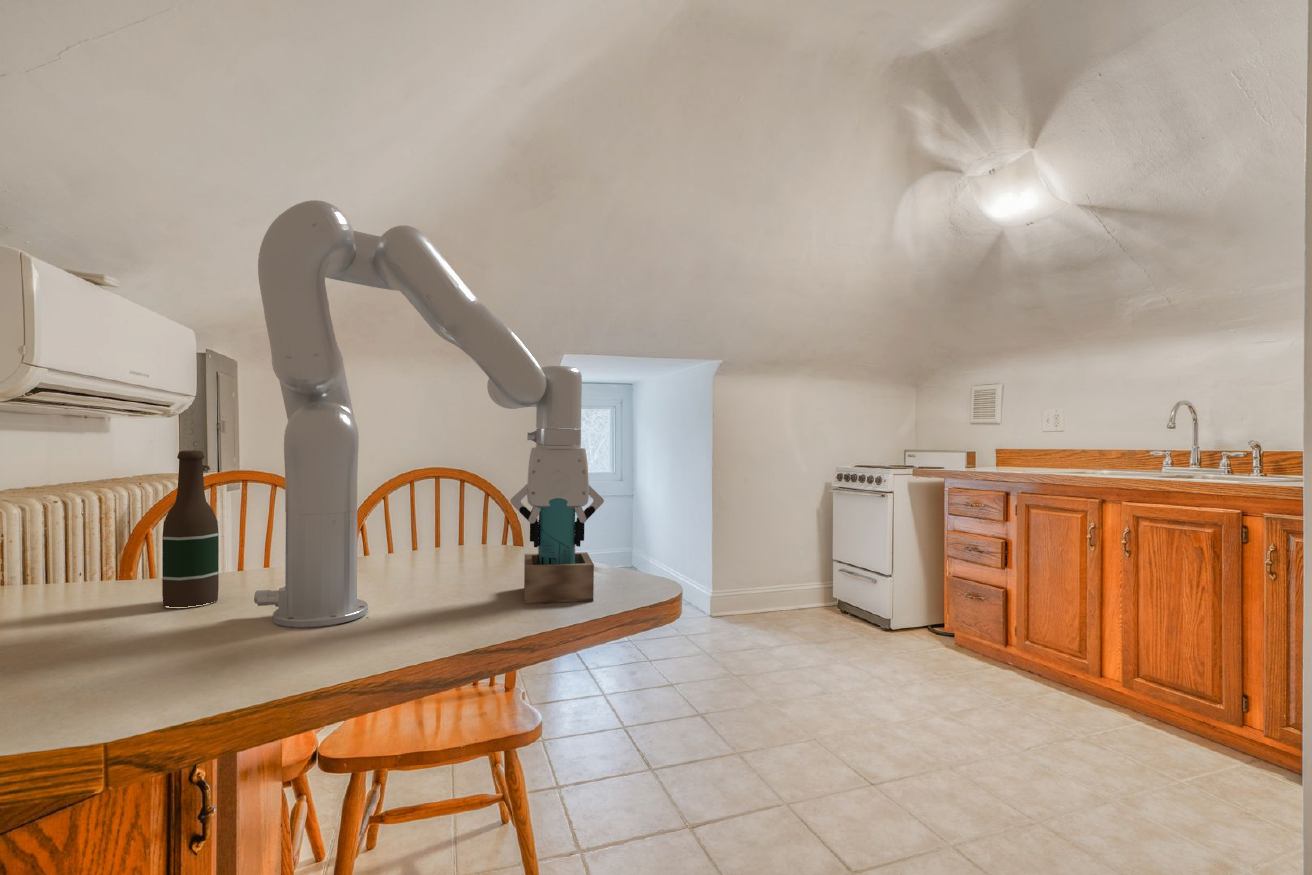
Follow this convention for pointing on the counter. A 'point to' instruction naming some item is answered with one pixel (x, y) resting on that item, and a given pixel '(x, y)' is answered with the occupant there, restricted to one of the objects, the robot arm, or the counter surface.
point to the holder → (558, 580)
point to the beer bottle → (190, 540)
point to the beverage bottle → (556, 533)
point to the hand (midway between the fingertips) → (556, 544)
